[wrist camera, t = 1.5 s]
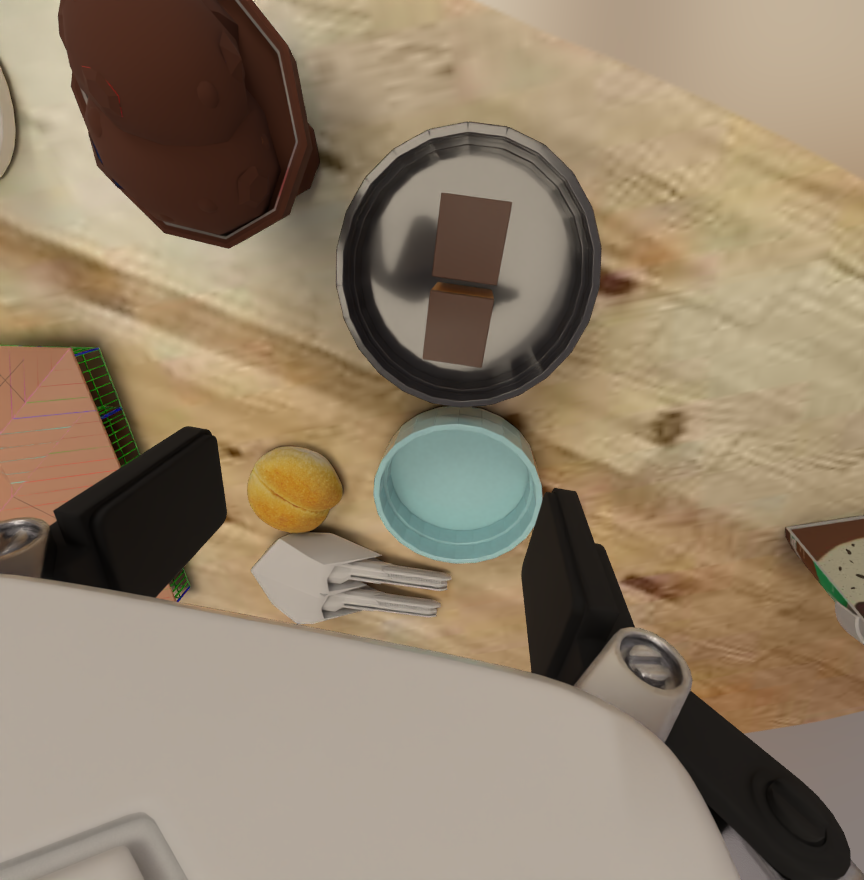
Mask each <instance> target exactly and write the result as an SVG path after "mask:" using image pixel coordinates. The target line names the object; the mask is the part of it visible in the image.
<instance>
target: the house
mask: <svg viewBox="0 0 864 880" xmlns="http://www.w3.org/2000/svg"><path fill="white" fill-rule="evenodd" d="M72 348H75V349H72ZM78 349H81V350H78ZM87 349H91V350H88V351H84V350H87ZM75 350H78V351H75ZM97 350H99V353H100V355H101V356H98V357H101V358H102V360H103V363H104V365H101V366H99V367H102V366H105V368H106V371H107V374H105V375H108V376H109V379H110V381H111V382H110V383H111V384H112V386H113V389H114V391H112V392H115V394H116V397H117V399H116V400H118V402H119V405H120V407H104V406H106V405H108V404H110V403H112V402H114V401H116V400H114V401H112V402H109V403H107V404H105V405H103V404H102V401H101V399H100V398H101V397H103V396H105V395H108V394H110V393H112V392H110V393H107V394H105V395H103V396H100V395H99V393H98V390H97V389H98V388H100V387H103V386H105V385H108V384H110V383H107V384H105V385H102V386H100V387H98V388H96V386H95V384H94V382H93V380H95V379H97V378H100V377H102V376H105V375H102V376H99V377H97V378H94V379H93V378H92V375H91V373H90V371H91V370H93V369H96V368H99V367H96V368H93V369H90V370H89V369H88V367H87V364H86V361H89V360H92V359H95V358H98V357H95V358H92V359H89V360H85V358H84V354H87V353H90V352H94V351H97ZM73 351H75V352H73ZM81 351H84V352H81ZM77 352H81V353H77ZM81 355H82V357H83V359H84V361H82V362H79V363H78V362H77V360H76V357H77V356H81ZM83 362H84V363H85V366H86V368H87V371H85V372H89V374H90V377H91V379H92V380H89V381H92V383H93V385H94V388H95V389H93V390H96V391H97V394H98V396H99V397H98V398H96V399H99V400H100V403H101V405H102V406H96V405H95V403H94V400H96V399H94V400H93V398H92V396H91V393H90V392H91V391H93V390H90V391H89V389H88V386H87V384H86V383H87V382H89V381H85V379H84V377H83V374H82V373H85V372H81V369H80V367H79V364H80V363H83ZM99 408H101V409H99ZM105 408H109V409H107V410H105ZM113 408H116V409H115V410H113V411H111V412H109V413H107V411H109V410H111V409H113ZM97 409H98V410H97ZM102 409H104V411H103V412H101V413H98V411H100V410H102ZM120 410H122V412H123V413H122V414H123V415H124V418H125V420H126V423H127V425H126V426H124V427H123V428H125V427H127V426H128V428H129V431H130V433H129V434H131V436H132V439H133V440H132V441H131V442H133V441H134V444H135V446H136V448H134V449H133V450H135V449H137V452H138V454H139V455H137V456H136V457H138V456H140V453H139V450H138V447H137V445H136V442H135V440H134V437H133V434H132V432H131V429H130V426H129V424H128V421H127V419H126V416H125V413H124V411H123V408H122V406H121V403H120V400H119V398H118V395H117V392H116V390H115V387H114V385H113V382H112V379H111V377H110V374H109V372H108V369H107V366H106V364H105V361H104V358H103V356H102V353H101V351H100V348H98V347H59V346H20V345H0V521H3V520H7V519H13V518H21V517H35V518H39V519H42V520H44V521H45V522H47V523H48V524H49V526H50V525H51V524H53V523H54V522H56V521H57V520H56V517H55V515H54V512H53V510H55V509H56V508H58V507H60V506H61V505H63V504H64V503H66V502H67V501H69V500H71V499H72V498H74V497H75V496H77V495H78V494H80V493H82V492H83V491H85V490H86V489H88V488H89V487H91V486H93V485H94V484H96V483H97V482H99V481H100V480H102V479H104V478H105V477H107V476H108V475H110V474H111V473H113V472H115V471H116V470H118V469H119V468H121V467H122V466H124V465H126V464H127V463H129V462H130V461H132V460H133V459H135V458H136V457H134V458H133V459H131V460H130V461H128V462H127V463H126V461H125V458H124V456H125V455H127V454H128V453H130V452H132V451H133V450H131V451H130V452H128V453H126V454H125V455H124V454H123V452H122V450H121V448H123V447H125V446H126V445H128V444H130V443H131V442H129V443H127V444H126V445H124V446H122V447H121V448H120V446H119V443H118V441H119V440H120V439H122V438H124V437H126V436H127V435H129V434H127V435H125V436H123V437H122V438H120V439H118V440H117V437H116V435H115V433H116V432H118V431H119V430H121V429H123V428H121V429H119V430H117V431H115V432H114V431H113V428H112V426H111V425H113V424H115V423H116V422H118V421H120V420H122V419H124V418H122V419H120V420H118V421H116V422H114V423H112V424H111V422H110V420H112V419H114V418H116V417H118V416H120V415H122V414H120V415H118V416H116V417H114V418H112V419H110V420H109V419H108V416H110V415H112V414H114V413H116V412H118V411H120ZM102 413H105V415H100V414H102ZM100 416H101V417H100ZM106 417H107V420H108V421H109V423H110V425H108V426H106V427H104V425H103V424H104V423H106V422H108V421H106V422H104V423H103V422H102V419H104V418H106ZM109 426H110V427H111V430H112V432H113V433H112V434H114V436H115V438H116V441H115V442H117V444H118V447H119V449H117V450H116V451H118V450H120V451H121V453H122V455H123V456H122V457H123V459H124V462H125V464H124V465H122V466H120V463H119V461H118V460H119V459H121V458H122V457H120V458H118V459H117V456H116V454H115V452H116V451H114V449H113V447H112V444H114V443H115V442H113V443H111V442H110V439H109V436H110V435H112V434H110V435H108V434H107V432H106V430H105V428H107V427H109ZM182 569H183V572H184V574H185V577H186V579H187V582H188V584H189V586H185V585H186V584H187V582H186V583H185V584H184V585H179V584H180V583H181V582H182V581H183V580H184V579H185V577H184V578H183V579H182V580H181V582H180V583H179V584H178V585H176V584H175V581H176V580H177V579H178V578H179V577H180V576H181V575H182V573H183V572H182V573H181V574H180V575H179V576H178V577H177V579H176V580H175V581H174V578H173V581H174V582H173V583H172V584H168V585H167V586H166V587H165V588H164V589H163V590H162V591H161V593H160V594H159V595H158V596H157V597H156V598H159V599H164V600H170V601H175V602H179V601H180V599H181V598H182V597H183V596H184V594H185V593H186V592H187V591H188V589H189V588H190V587H191V586H190V583H189V581H188V578H187V576H186V573H185V570H184V568H182ZM173 584H174V585H173ZM172 585H173V586H175V589H174V590H173V591H172V589H171V586H172ZM178 586H183V587H182V588H181V589H180V590H179V591H178V588H177V587H178ZM184 587H188V588H187V589H186V590H185V592H184V593H183V594H182V595H181V596H180V594H179V593H180V592H181V591H182V590H183V588H184ZM176 589H177V591H178V593H177V594H176V595H175V596H174V594H173V592H174V591H175V590H176ZM178 594H179V597H180V598H179V597H177V596H178ZM175 598H179V599H178V600H177V601H176V599H175Z"/></svg>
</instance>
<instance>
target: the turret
mask: <svg viewBox="0 0 864 880" xmlns="http://www.w3.org/2000/svg"><path fill="white" fill-rule="evenodd" d="M378 556H382V555H381V554H378V553H376V552H374V551H371V550H369V549H367V548H364V547H362V546H360V545H358V544H355V543H353V542H351V541H348V540H346V539H344V538H342V537H339V536H337V535H335V534H332V533H311V532H303V533H291V534H289V535H286V536H284V537H282V538H279V539H278V540H277V541H276V542H274V543H273V544H272V545H271V546H270V547H269V548H268V550H267V551H266V552H265V553H264V554H263V555H262V557H261V558H260V559H259V560H258V561H257V563H256V564H255V565H254V566H253V567H252V569H251V572H252V574H253V575H254V577H255V578H256V580H257V581H258V583H259V584H260V586H261V587H262V589H263V590H264V592H265V594H266V595H267V597H268V598H269V600H270V601H271V603H272V604H273V605H274V606H275V607H277V608H278V609H279V610H280V611H282V612H283V613H284V614H285V615H287V616H288V617H289V618H290V619H292V620H293V621H294V622H295V623H297V624H314V623H317V622H321V621H325V620H329V619H332V618H336V617H340V616H344V615H347V614H351V613H355V612H359V611H362V610H366V611H383V612H391V613H398V614H406V615H414V616H422V617H435V616H437V615H436V613H437V610H436V608H438V607H441V606H440V603H439V602H437V601H435V600H431V599H424V598H416V597H409V596H402V595H394V594H387V593H384V592H381V591H377V590H375V589H374V588H372V587H370V586H368V585H367V584H365V583H363V582H370V583H377V584H381V583H386V584H393V585H401V586H408V587H415V588H422V589H429V590H436V591H442V590H447V589H446V588H447V580H451V576H450V575H448V574H446V573H444V572H438V571H431V570H424V569H418V568H411V567H404V566H397V565H393V564H391V563H384V562H383V561H381V560H379V559H377V558H375V557H378ZM361 581H363V582H361Z"/></svg>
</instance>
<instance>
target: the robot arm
mask: <svg viewBox="0 0 864 880" xmlns="http://www.w3.org/2000/svg"><path fill="white" fill-rule="evenodd" d="M15 131H16V128H15V118H14V109H13V105H12V101H11V97H10V93H9V89H8V85H7V83H6V80H5V77H4V75H3V72H2V70H1V67H0V177H1V176H2V175H3V174H4V172H5V171H6V169H7V167H8V166H9V164H10V161H11V158H12V154H13V151H14V146H15ZM53 512H54V515H55V517H56V520H57V521H56V522H54V523H53V524H51V525H50V526H49V524H48V523H47V522H45V521H44V520H42V519H39V518H35V517H21V518H13V519H7V520H3V521H0V880H864V874H863V873H862V872H861V870H860V869H859V868H858V867H857V866H856V865H855V864H854V863H853V862H852V860H851V859H850V848H849V846H848V843H847V840H846V838H845V835H844V832H843V831H842V829H841V827H840V826H839V824H838V822H837V821H836V819H835V817H834V815H833V814H832V813H831V811H830V810H829V809H828V808H827V807H826V805H825V804H824V803H823V802H822V801H821V800H820V798H819V797H818V796H817V795H816V794H815V793H814V792H813V791H812V790H811V789H809V788H808V786H806V785H805V784H804V783H803V782H802V781H801V780H800V779H798V778H797V777H796V776H795V775H793V774H792V773H791V772H790V771H789V770H787V769H786V768H785V767H784V766H782V765H781V764H780V763H779V762H777V761H776V760H775V759H774V758H773V757H771V756H770V755H769V754H768V753H766V752H765V751H764V750H763V749H762V748H760V747H759V746H758V745H757V744H755V743H754V742H753V741H752V740H750V739H749V738H748V737H747V736H745V735H744V734H743V733H742V732H741V731H739V730H738V729H737V728H736V727H734V726H733V725H732V724H731V723H730V722H728V721H727V720H726V719H725V718H723V717H722V716H721V715H720V714H718V713H717V712H716V711H715V710H714V709H712V708H711V707H710V706H709V705H707V704H706V703H705V702H704V701H702V700H701V699H700V698H699V697H698V696H696V695H695V694H694V693H693V692H691V691H690V690H691V685H692V677H691V672H690V669H689V667H688V665H687V664H686V662H685V660H684V658H683V657H682V656H681V655H680V654H679V652H678V651H677V650H676V649H675V648H674V647H673V646H672V645H670V644H669V643H668V642H667V641H666V640H664V639H663V638H661V637H659V636H658V635H656V634H654V633H652V632H650V631H647V630H644V629H641V628H635V626H634V624H633V621H632V618H631V616H630V613H629V611H628V608H627V605H626V603H625V600H624V597H623V595H622V592H621V590H620V587H619V584H618V582H617V579H616V576H615V574H614V571H613V569H612V566H611V563H610V561H609V558H608V556H607V553H606V550H605V549H604V547H603V546H602V545H601V544H596V543H594V540H593V537H592V534H591V531H590V529H589V526H588V523H587V520H586V517H585V515H584V512H583V509H582V506H581V503H580V501H579V498H578V495H577V493H576V492H575V491H570V490H564V489H558V488H554V489H553V491H552V493H550V492H546V493H545V494H544V497H543V500H542V504H541V507H540V510H539V513H538V517H537V520H536V523H535V526H534V530H533V533H532V536H531V539H530V543H529V546H528V549H527V552H526V556H525V559H524V562H523V566H522V586H523V596H524V605H525V615H526V624H527V633H528V643H529V652H530V662H531V671H532V673H530V672H526V671H522V670H519V669H515V668H511V667H507V666H502V665H498V664H493V663H488V662H484V661H479V660H474V659H469V658H465V657H460V656H455V655H451V654H446V653H441V652H436V651H431V650H426V649H421V648H416V647H411V646H406V645H401V644H396V643H390V642H385V641H380V640H375V639H370V638H365V637H360V636H355V635H350V634H345V633H339V632H334V631H329V630H324V629H319V628H313V627H308V626H303V625H298V624H292V623H287V622H282V621H277V620H271V619H266V618H261V617H256V616H250V615H245V614H240V613H234V612H229V611H224V610H219V609H213V608H208V607H202V606H197V605H192V604H186V603H181V602H175V601H170V600H164V599H159V598H156V597H157V596H158V595H159V594H160V593H161V591H162V590H163V589H164V588H165V587H166V586H167V585H168V584H169V583H170V582H171V580H172V579H173V578H174V577H175V576H176V575H177V574H178V573H179V572H180V571H181V569H182V568H183V567H184V566H185V565H186V564H187V563H188V562H189V561H190V560H191V558H192V557H193V556H194V555H195V554H196V553H197V552H198V551H199V550H200V548H201V547H202V546H203V545H204V544H205V543H206V542H207V541H208V540H209V539H210V537H211V536H212V535H213V534H214V533H215V532H216V531H217V530H218V529H219V528H220V526H221V525H222V524H223V523H224V521H225V519H226V515H227V509H226V501H225V494H224V487H223V480H222V473H221V466H220V459H219V452H218V444H217V439H216V437H215V436H212V434H211V432H210V431H209V430H207V429H201V428H195V427H189V426H186V427H184V428H182V429H180V430H179V431H177V432H176V433H174V434H173V435H171V436H169V437H168V438H166V439H165V440H163V441H162V442H160V443H158V444H157V445H155V446H154V447H152V448H151V449H149V450H147V451H146V452H144V453H143V454H141V455H140V456H138V457H137V458H135V459H133V460H132V461H130V462H129V463H127V464H126V465H124V466H122V467H121V468H119V469H118V470H116V471H115V472H113V473H111V474H110V475H108V476H107V477H105V478H104V479H102V480H100V481H99V482H97V483H96V484H94V485H93V486H91V487H89V488H88V489H86V490H85V491H83V492H82V493H80V494H78V495H77V496H75V497H74V498H72V499H71V500H69V501H67V502H66V503H64V504H63V505H61V506H60V507H58V508H56V509H55V510H53Z"/></svg>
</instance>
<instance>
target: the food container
mask: <svg viewBox="0 0 864 880" xmlns="http://www.w3.org/2000/svg"><path fill="white" fill-rule="evenodd" d="M785 531H786V538H787V540H788V542H789V544H790V546H791V547H792V549H793V550H794V551H795V553H796V554H797V555H798V556H799V558H800V559H801V560H802V561H803V563H804V564H805V565H806V566H807V568H808V569H809V570H810V571H811V573H812V574H813V575H814V577H815V578H816V579H817V580H818V582H819V583H820V584H821V585H822V587H823V588H824V589H825V590H826V592H827V593H828V594H829V595H830V597H831V598H832V599H833V600H834V602H835V612H836V616H837V619H838V621H839V623H840V624H841V626H842V627H843V628H844V629H845V630H846V631H847V632H848V633H849V634H850V635H852V636H853V637H854V638H855V639H857V640H858V641H859V642H861V643H862V644H863V645H864V515H863V516H857V517H850V518H843V519H837V520H830V521H824V522H817V523H810V524H804V525H797V526H790V527H785Z"/></svg>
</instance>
